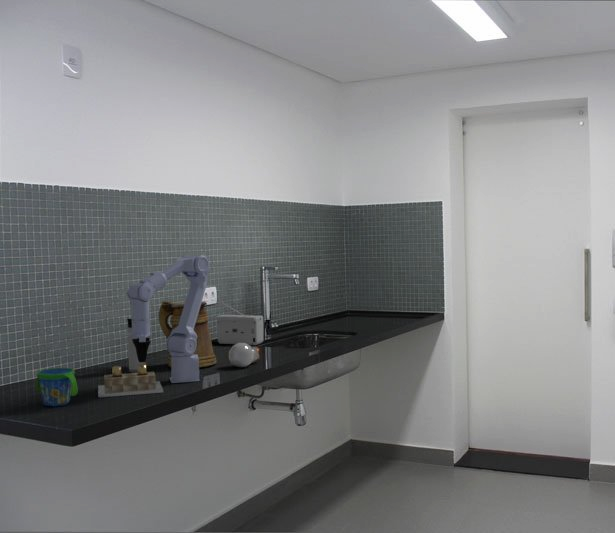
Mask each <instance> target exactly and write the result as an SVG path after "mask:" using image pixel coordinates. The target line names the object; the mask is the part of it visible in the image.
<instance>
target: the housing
mask: <svg viewBox="0 0 615 533" xmlns="http://www.w3.org/2000/svg"><path fill="white" fill-rule="evenodd" d="M121 375H122V377H113V374H104V376H103V378H104V379H103V380H104V383H103V385H105V392H106V391H119V390H132V389H145V388H156V377H157V376H156V374H155V371H147V375H141V376H138V373H132V372H129V373H121Z"/></svg>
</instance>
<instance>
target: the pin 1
mask: <svg viewBox="0 0 615 533" xmlns="http://www.w3.org/2000/svg"><path fill="white" fill-rule="evenodd" d="M111 368H112V371H111V372H112V375H113V377H122V375H121V374H122V366H120V365H118V366H112V367H111Z"/></svg>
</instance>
